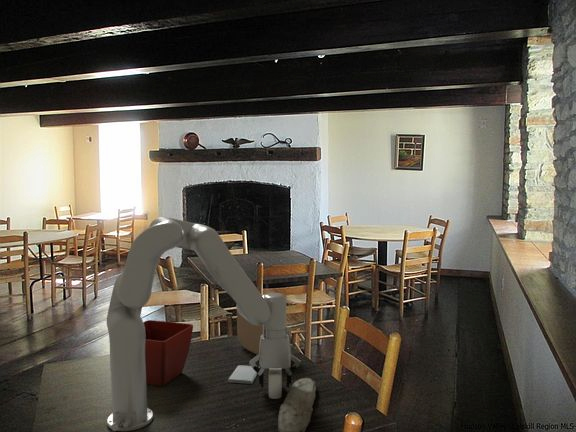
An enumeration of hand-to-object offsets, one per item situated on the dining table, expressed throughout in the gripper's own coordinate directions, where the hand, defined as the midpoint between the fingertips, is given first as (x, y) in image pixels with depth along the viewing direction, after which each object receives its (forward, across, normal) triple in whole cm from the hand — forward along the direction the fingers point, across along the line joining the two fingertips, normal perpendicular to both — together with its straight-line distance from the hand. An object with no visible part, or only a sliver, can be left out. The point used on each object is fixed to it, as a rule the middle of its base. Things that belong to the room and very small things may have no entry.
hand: (275, 385), depth 164 cm
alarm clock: (+2, +6, -36) cm, 37 cm away
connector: (+2, 0, 0) cm, 2 cm away
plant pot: (+2, +41, -12) cm, 43 cm away
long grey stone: (+3, -7, +12) cm, 14 cm away
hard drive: (+3, +11, -13) cm, 17 cm away
